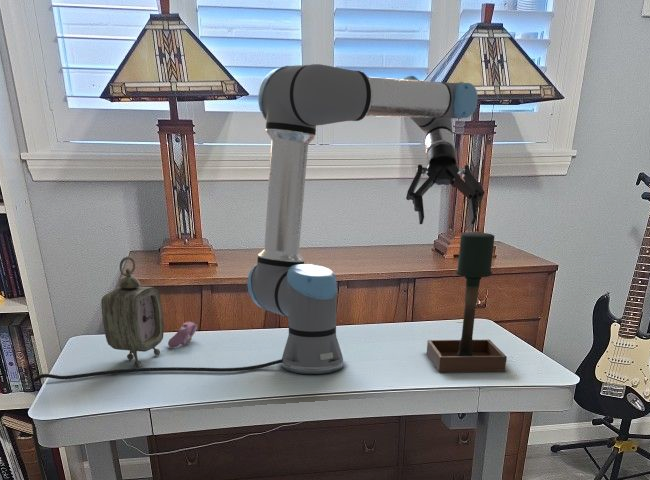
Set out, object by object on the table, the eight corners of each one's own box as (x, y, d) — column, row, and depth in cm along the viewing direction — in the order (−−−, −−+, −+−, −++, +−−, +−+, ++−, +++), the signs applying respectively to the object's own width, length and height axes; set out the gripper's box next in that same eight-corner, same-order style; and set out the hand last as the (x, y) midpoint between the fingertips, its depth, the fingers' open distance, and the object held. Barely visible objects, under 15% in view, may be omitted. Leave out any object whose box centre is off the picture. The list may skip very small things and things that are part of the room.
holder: (438, 372, 172) (440, 357, 170) (426, 354, 185) (427, 340, 184) (504, 371, 173) (506, 356, 171) (487, 353, 187) (489, 339, 185)
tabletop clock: (141, 370, 170) (127, 262, 158) (107, 367, 172) (91, 260, 160) (166, 353, 183) (156, 253, 171) (135, 351, 184) (122, 251, 172)
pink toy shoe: (181, 354, 188) (190, 331, 184) (165, 346, 187) (174, 323, 184) (193, 344, 196) (202, 322, 193) (178, 336, 196) (187, 314, 192)
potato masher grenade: (482, 356, 182) (497, 233, 167) (479, 365, 174) (494, 237, 160) (450, 353, 184) (461, 231, 169) (445, 362, 176) (457, 235, 162)
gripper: (482, 164, 190) (491, 230, 185) (392, 163, 189) (397, 230, 183) (490, 142, 183) (499, 211, 177) (396, 141, 181) (402, 210, 175)
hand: (447, 220), depth 180 cm, fingers open, 13 cm apart
